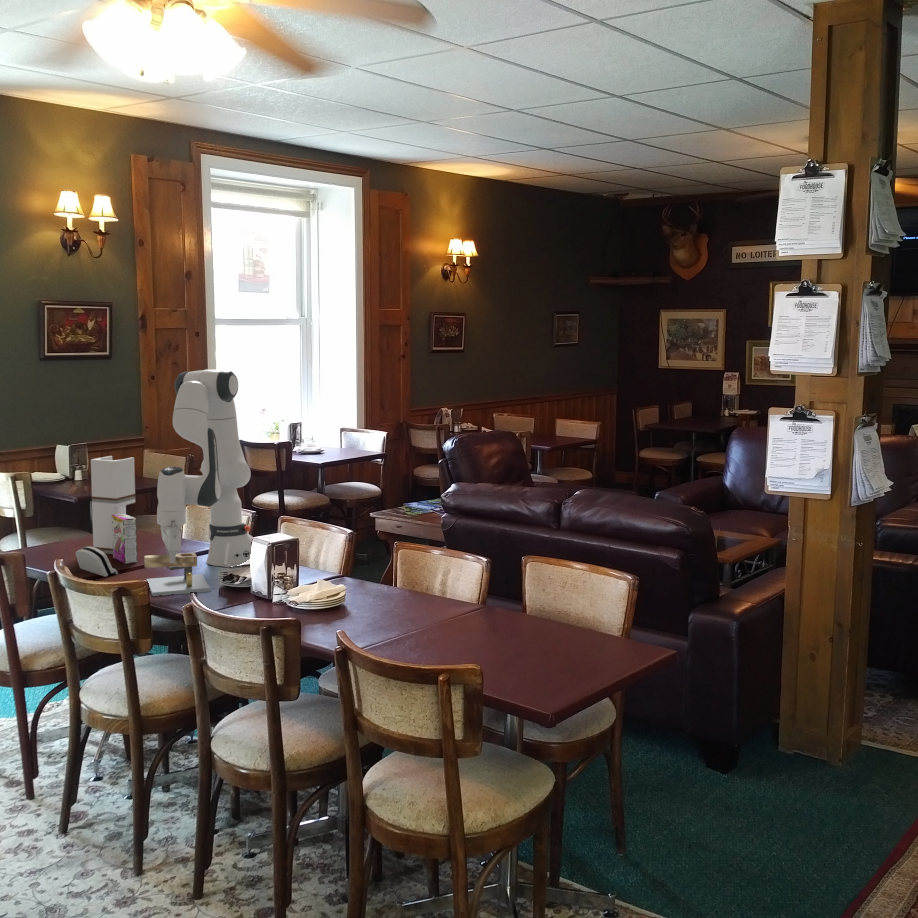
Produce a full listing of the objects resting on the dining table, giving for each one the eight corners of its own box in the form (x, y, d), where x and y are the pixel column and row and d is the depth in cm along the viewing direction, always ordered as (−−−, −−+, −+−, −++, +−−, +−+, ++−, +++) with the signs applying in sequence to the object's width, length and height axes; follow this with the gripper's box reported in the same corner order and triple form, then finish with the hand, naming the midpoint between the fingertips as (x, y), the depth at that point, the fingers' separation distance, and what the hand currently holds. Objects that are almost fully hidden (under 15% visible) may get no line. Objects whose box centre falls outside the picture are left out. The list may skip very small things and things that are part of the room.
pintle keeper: (191, 579, 335) (191, 562, 334) (197, 589, 322) (197, 571, 322) (166, 581, 331) (166, 564, 330) (171, 592, 319) (171, 573, 318)
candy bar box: (111, 558, 362) (110, 514, 360) (125, 556, 365) (124, 512, 363) (124, 564, 354) (123, 519, 352) (137, 562, 357) (136, 517, 355)
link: (194, 562, 324) (194, 552, 324) (196, 566, 319) (197, 556, 319) (143, 564, 318) (144, 554, 318) (145, 568, 313) (145, 558, 313)
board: (201, 578, 337) (201, 574, 337) (210, 591, 321) (210, 587, 321) (146, 582, 330) (146, 578, 330) (152, 596, 314) (152, 592, 314)
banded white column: (117, 554, 368) (115, 461, 363) (93, 552, 371) (90, 459, 367) (136, 548, 379) (134, 457, 374) (112, 545, 382) (110, 455, 377)
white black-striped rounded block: (118, 574, 340) (108, 548, 336) (106, 581, 337) (96, 555, 333) (93, 565, 351) (83, 541, 347) (81, 572, 348) (71, 547, 344)
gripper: (185, 523, 309) (185, 567, 310) (177, 512, 327) (177, 553, 329) (164, 524, 306) (164, 568, 308) (157, 512, 325) (157, 554, 327)
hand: (171, 560), depth 319 cm, fingers closed on link, 3 cm apart
